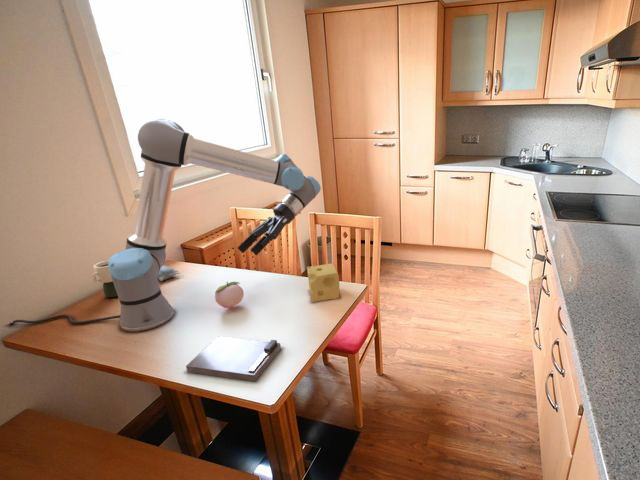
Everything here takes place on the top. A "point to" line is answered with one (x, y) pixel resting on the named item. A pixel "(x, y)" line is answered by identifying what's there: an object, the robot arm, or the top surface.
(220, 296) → the decorative fruit
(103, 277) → the character mug
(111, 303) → the top surface
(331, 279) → the cheese
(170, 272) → the packaged food
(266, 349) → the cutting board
